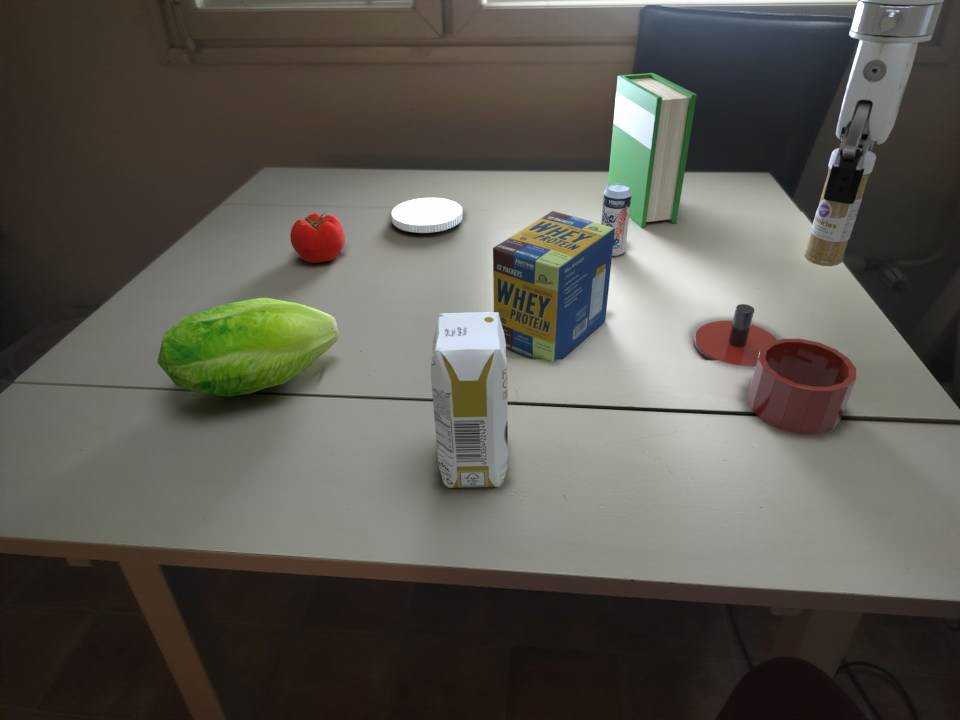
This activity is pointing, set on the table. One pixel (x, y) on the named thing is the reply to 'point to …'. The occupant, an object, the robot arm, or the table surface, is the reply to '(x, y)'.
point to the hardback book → (651, 144)
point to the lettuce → (245, 346)
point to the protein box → (552, 284)
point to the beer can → (617, 214)
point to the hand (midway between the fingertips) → (843, 192)
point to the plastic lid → (426, 215)
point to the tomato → (317, 237)
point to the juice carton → (470, 399)
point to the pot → (801, 385)
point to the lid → (733, 338)
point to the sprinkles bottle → (835, 221)
